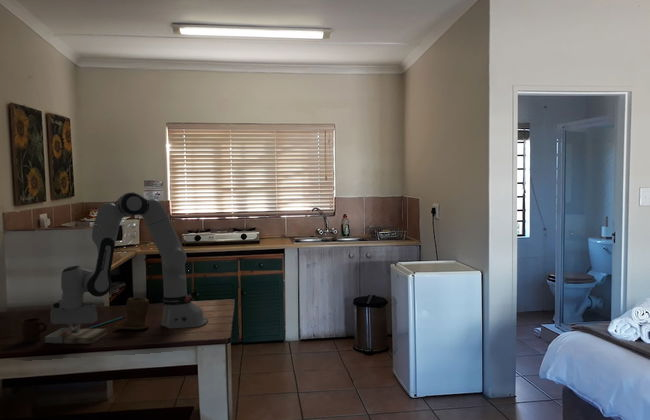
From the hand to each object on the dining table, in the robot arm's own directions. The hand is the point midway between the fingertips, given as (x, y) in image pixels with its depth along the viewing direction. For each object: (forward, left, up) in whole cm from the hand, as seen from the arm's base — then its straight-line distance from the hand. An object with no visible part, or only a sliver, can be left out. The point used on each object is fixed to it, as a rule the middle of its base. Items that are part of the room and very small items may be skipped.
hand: (74, 333), depth 230 cm
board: (-3, -3, -3) cm, 6 cm away
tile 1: (+4, -6, -2) cm, 7 cm away
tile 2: (+4, 0, -2) cm, 5 cm away
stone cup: (-19, -19, -4) cm, 27 cm away
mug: (+18, 0, -4) cm, 18 cm away
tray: (+8, -3, -3) cm, 9 cm away
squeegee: (+5, -26, -4) cm, 27 cm away
